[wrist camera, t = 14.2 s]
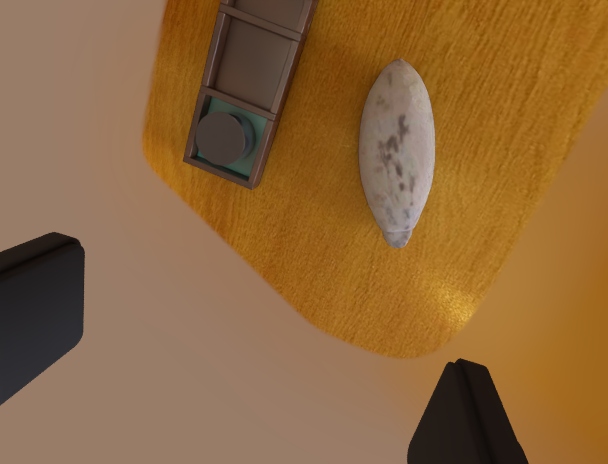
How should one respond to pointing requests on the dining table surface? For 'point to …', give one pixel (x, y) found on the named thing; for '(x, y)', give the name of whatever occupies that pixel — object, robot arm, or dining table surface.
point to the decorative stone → (397, 150)
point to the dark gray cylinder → (225, 137)
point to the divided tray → (250, 75)
